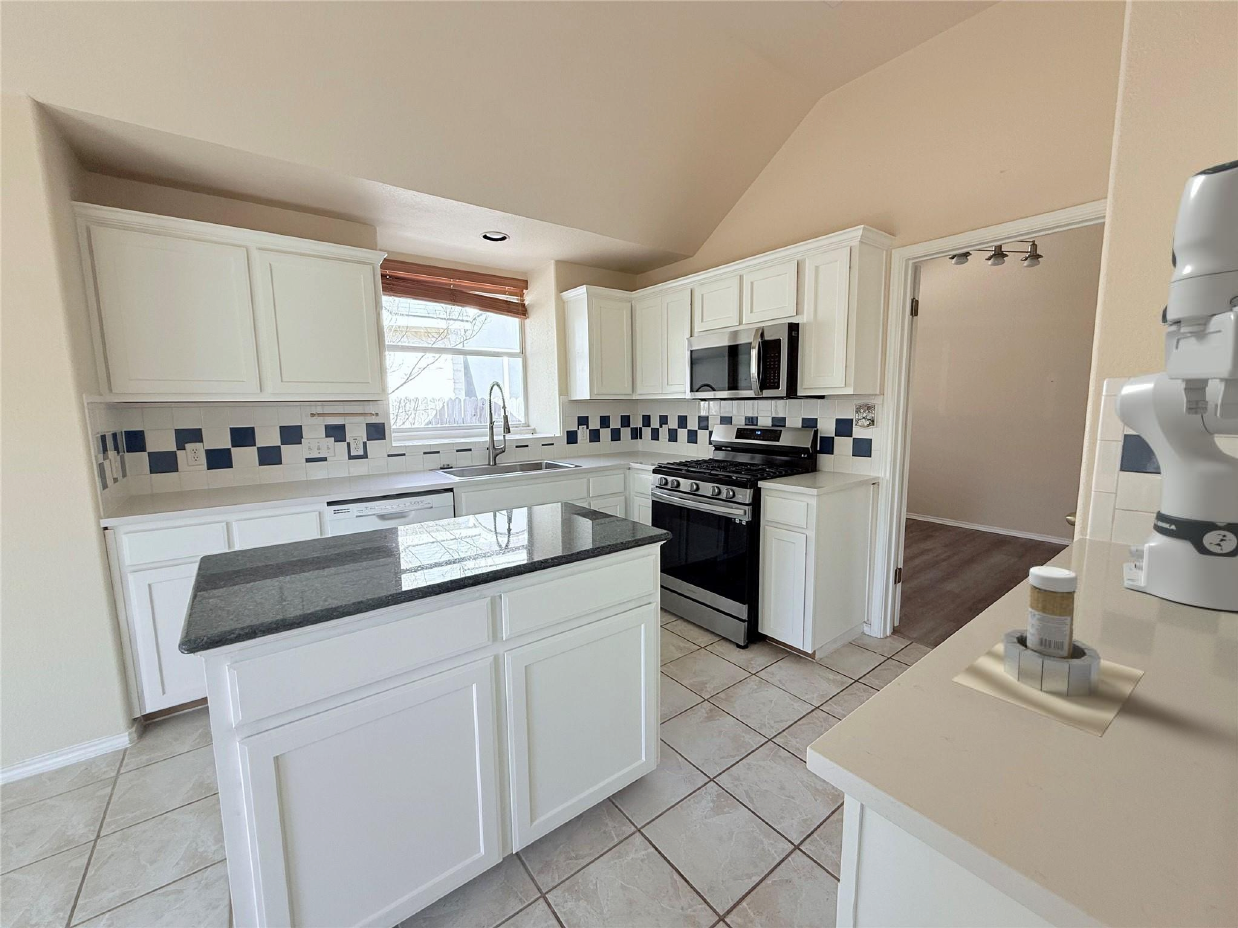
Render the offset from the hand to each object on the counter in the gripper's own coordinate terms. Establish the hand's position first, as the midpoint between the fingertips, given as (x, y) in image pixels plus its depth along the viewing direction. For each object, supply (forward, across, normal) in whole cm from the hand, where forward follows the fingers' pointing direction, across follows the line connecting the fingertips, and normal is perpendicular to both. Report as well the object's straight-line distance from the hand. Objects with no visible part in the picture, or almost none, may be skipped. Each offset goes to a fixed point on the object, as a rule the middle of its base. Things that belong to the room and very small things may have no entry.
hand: (1210, 416), depth 64 cm
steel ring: (+31, -14, +16) cm, 38 cm away
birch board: (+33, -14, +16) cm, 39 cm away
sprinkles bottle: (+32, -13, +16) cm, 38 cm away
